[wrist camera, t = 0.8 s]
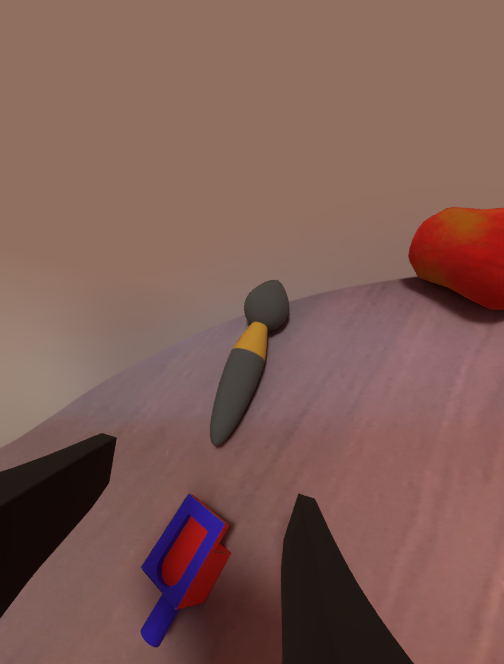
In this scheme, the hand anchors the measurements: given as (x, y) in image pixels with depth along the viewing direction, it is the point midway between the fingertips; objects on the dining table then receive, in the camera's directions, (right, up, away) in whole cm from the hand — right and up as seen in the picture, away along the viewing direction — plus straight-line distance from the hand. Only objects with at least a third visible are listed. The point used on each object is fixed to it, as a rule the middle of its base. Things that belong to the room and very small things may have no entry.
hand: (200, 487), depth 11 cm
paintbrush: (0, +2, +13) cm, 13 cm away
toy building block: (-1, -8, +12) cm, 14 cm away
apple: (+20, +15, +21) cm, 32 cm away
